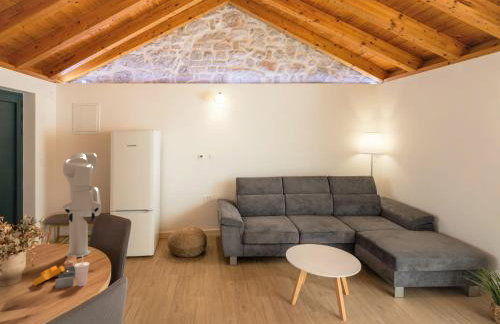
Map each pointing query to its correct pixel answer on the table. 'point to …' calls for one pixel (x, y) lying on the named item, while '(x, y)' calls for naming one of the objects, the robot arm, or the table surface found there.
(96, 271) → the table surface
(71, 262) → the peach two-stud bar
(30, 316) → the table surface
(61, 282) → the book ends
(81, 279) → the pink drink cup
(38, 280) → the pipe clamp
